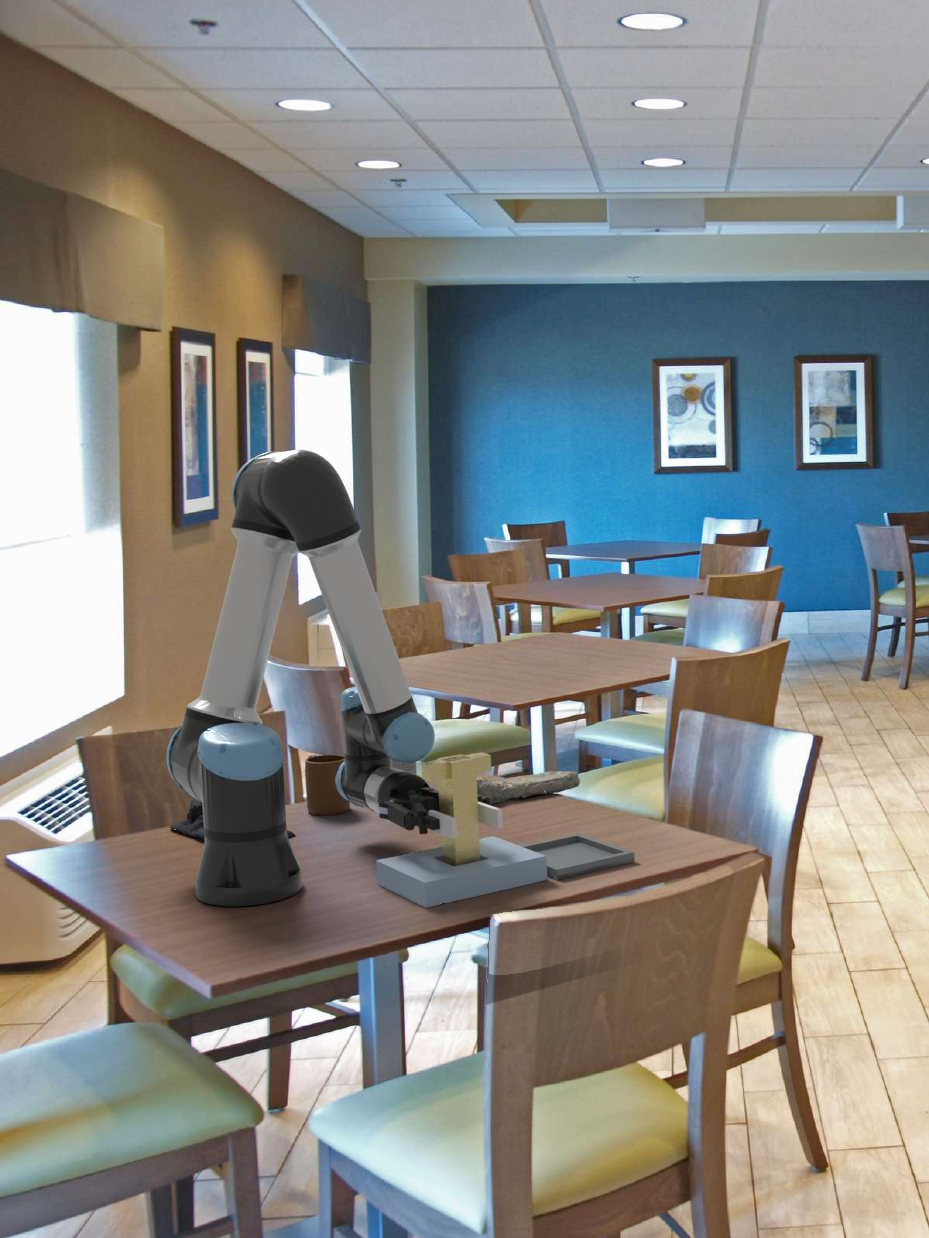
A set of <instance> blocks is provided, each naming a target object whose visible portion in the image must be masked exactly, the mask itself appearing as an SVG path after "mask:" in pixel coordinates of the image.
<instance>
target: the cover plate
mask: <svg viewBox="0 0 929 1238" xmlns="http://www.w3.org/2000/svg"><path fill="white" fill-rule="evenodd" d="M479 844H480V861H477V862H473V863H468V864H464V865H459V866H454V867H453V866H451V865H449V864H446V863H444V862H442V852H441V846H439V847H434V848H430V849H426V850H421V851H415V852H410V853H404V854H402V855H401V854H400V855H395V856H392V857H386V858H381V859H377V860H375V863H376V865H375V866H376V881H377V882H376V884H377V885H378V886H381V887H383V888H385V889H386V890H388V891H390V892H393V893H395V894H397V895H398V896H401V897H403V898H404V899H407V900H409V901H411V902H413V903H415V904H417V905H419V906H421V907H422V908H425V909H427V908H432V907H435V906H439V905H440V904H441V905H443V904H442V903H445V904H448V903H453V901H454V902H457V900H458V901H461V900H462V901H463V900H465V899H469V898H470V899H471V898H475V897H479V896H483V895H488V894H491V893H496V892H500V890H501V891H504V890H509V889H510V890H511V889H513V888H517V887H518V888H519V887H522V886H528V885H532V884H536V883H540V882H544V881H548V876H547V860H546V856H545V855H543V854H540V853H537V852H535V851H532V850H529V849H527V848H524V847H521V845H519V844H515V843H514V842H510V841H507V840H505V839H502V838H499V837H497V836H493V835H492V836H488V837H484V838H483V837H482V838H479ZM441 905H440V906H441Z"/></svg>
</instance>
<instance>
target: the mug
mask: <svg viewBox="0 0 929 1238" xmlns="http://www.w3.org/2000/svg"><path fill="white" fill-rule="evenodd" d="M343 762H344V754H343V755H342V754H321V755H318V754H310V755H308V757H307V758H306V759H305V761H304V777H305V778H304V779H305V794H306V808H307V812H309V813H310V814H311V815H315V816H335V815H339V814H343V813H346V812H348V810H349V809H350V807H351V802H349V801H348V800H346V799H345V798H343V797H342V796H341V795H340V793H339V792H338V790H337V787H336V781H335V780H336V775H337V772H338V769H339V767H340V765H341V764H342V763H343Z"/></svg>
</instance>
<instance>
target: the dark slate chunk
mask: <svg viewBox="0 0 929 1238" xmlns="http://www.w3.org/2000/svg"><path fill="white" fill-rule="evenodd" d="M170 828H172V829H171V830H172V831H174V829H176V830H177V831H178V832H180V833H181V832H182V833H181V834H184V835H185V836H189V837H191V836H193V837H195V838H196V839H201V838H202V839H201V840H203V841H205V834H204V820H203V806H202V802H200V801H199V800H197V799H192V800H190V805H189V810H188V813H187V814H186V819H184V820H181V821H178V822H176V823H173V824H170V826H169V829H170ZM287 836H288V839H290V838H292V837H296V834H295V833H294V832H293V831H292V830H288V829H287ZM193 837H192V838H193Z"/></svg>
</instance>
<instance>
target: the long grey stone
mask: <svg viewBox="0 0 929 1238" xmlns="http://www.w3.org/2000/svg"><path fill="white" fill-rule="evenodd" d="M580 783H581V779H580V777H579V774H578V771H568V770H565V771H562V770H559V771H546V772H539V773H536V774H535V773H534V774H527V775H518V776H511V777H507V778H502V779H497V780H495V779H493V780H488V779H487V778H485V777H481V776H477V794H478V795H482V796H486V797H490V798H491V805H495V804H497V803H503V802H505V801H507V800H510V799H511V798H512V799H520V797H521V798H522V799H525V798H528V797H531V796H536V795H537V796H538V795H549V794H556V793H561V792H564V791H567V790H572V789H574V788H577V787H579V785H580ZM433 789H434V790H437V791H439V788H438V787H435V788H433ZM544 791H546V793H545V792H544ZM548 793H549V794H548ZM439 810H440V809H439Z"/></svg>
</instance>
